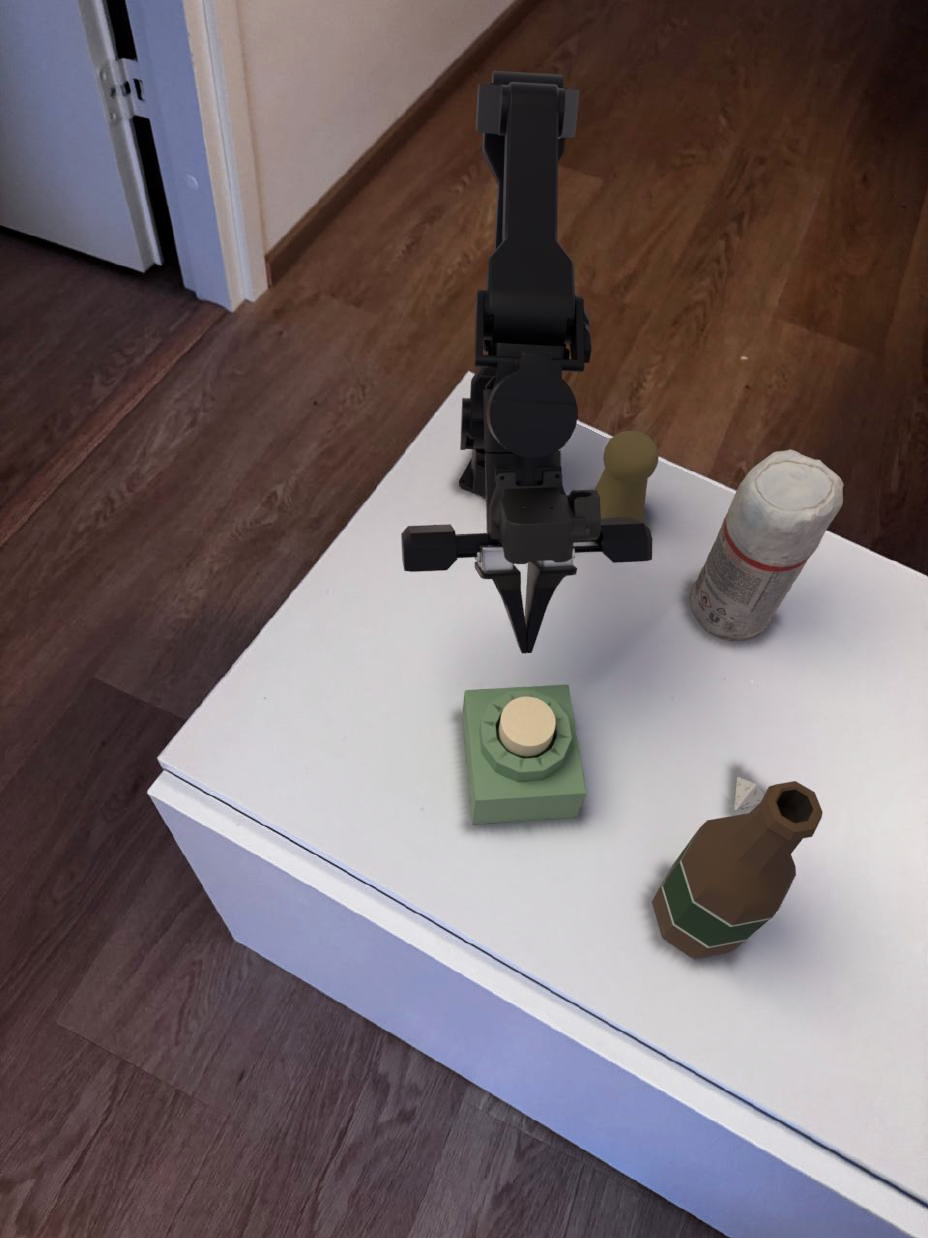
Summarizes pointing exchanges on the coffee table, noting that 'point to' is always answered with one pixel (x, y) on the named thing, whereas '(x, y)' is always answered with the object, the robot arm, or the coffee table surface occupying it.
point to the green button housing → (521, 760)
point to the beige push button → (527, 726)
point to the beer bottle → (735, 873)
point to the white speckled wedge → (747, 794)
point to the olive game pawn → (626, 475)
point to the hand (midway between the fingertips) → (526, 652)
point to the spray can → (764, 543)
